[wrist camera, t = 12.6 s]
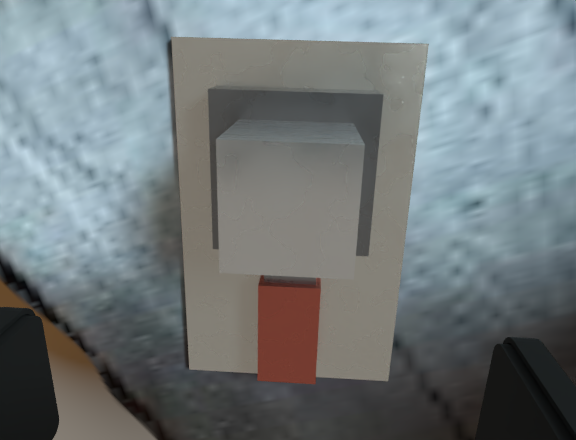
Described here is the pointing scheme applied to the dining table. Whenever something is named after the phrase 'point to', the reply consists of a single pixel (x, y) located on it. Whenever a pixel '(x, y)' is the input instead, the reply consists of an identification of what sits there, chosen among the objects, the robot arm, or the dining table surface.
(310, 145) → the light grey cube
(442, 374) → the dining table surface
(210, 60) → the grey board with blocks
